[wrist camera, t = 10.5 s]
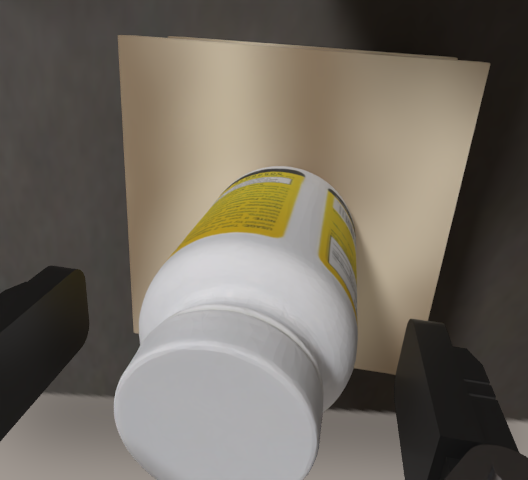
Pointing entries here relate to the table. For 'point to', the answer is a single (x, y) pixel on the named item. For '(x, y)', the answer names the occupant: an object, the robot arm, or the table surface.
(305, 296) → the supplement bottle
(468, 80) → the wooden pedestal stand
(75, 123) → the table surface
